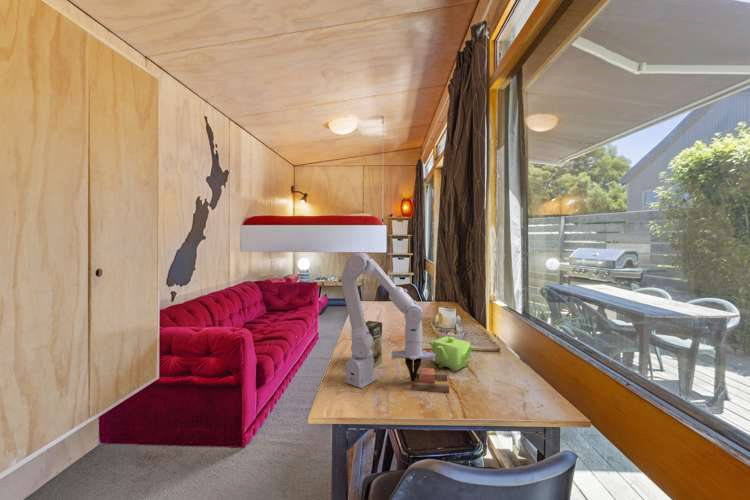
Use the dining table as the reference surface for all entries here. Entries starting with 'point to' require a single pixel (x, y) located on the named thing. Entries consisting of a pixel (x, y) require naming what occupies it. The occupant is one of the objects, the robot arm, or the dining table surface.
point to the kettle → (451, 352)
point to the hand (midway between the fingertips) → (413, 379)
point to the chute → (431, 384)
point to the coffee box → (376, 341)
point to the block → (426, 375)
